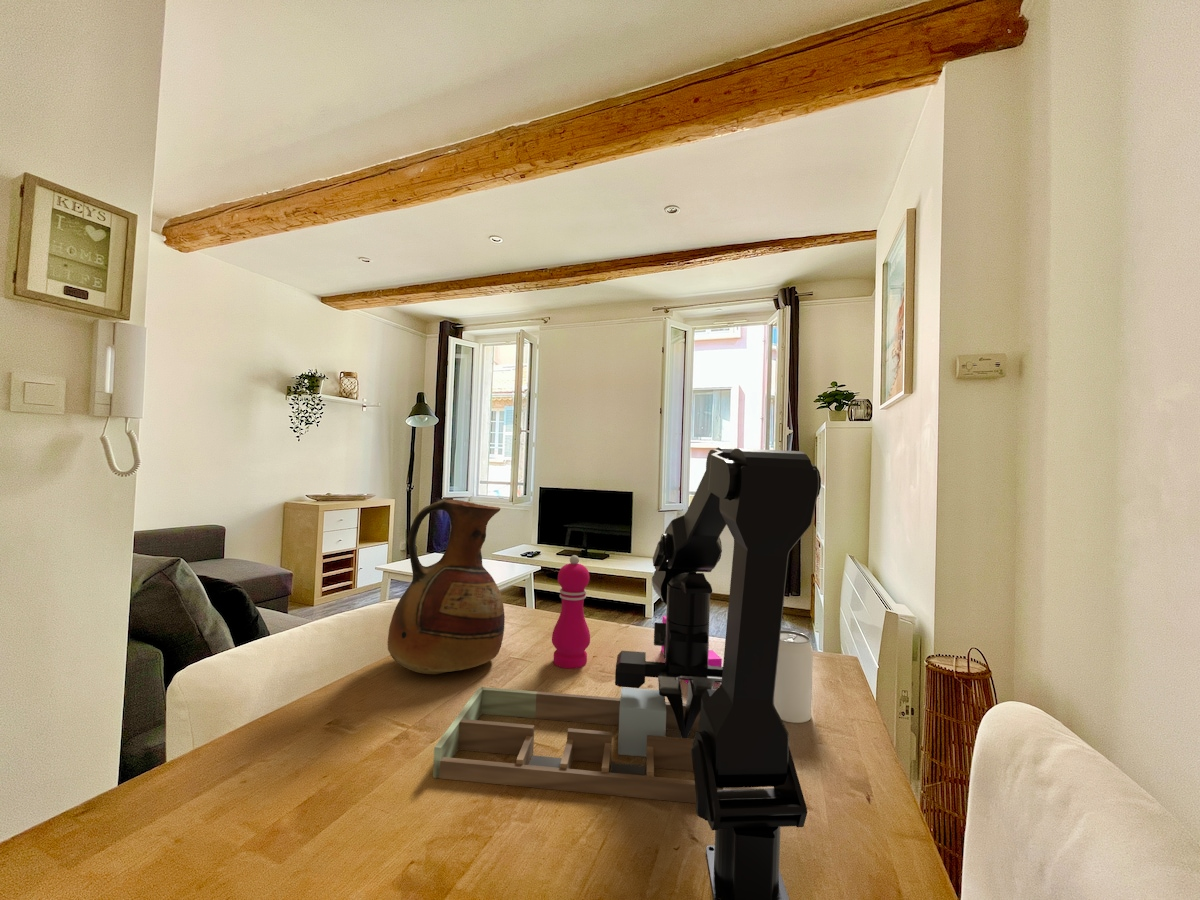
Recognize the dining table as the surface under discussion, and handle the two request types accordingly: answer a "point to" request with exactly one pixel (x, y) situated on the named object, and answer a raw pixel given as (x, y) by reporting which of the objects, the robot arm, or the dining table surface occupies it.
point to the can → (794, 677)
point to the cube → (640, 719)
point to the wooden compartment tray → (578, 747)
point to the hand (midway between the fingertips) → (683, 737)
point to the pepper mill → (571, 617)
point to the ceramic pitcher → (449, 599)
